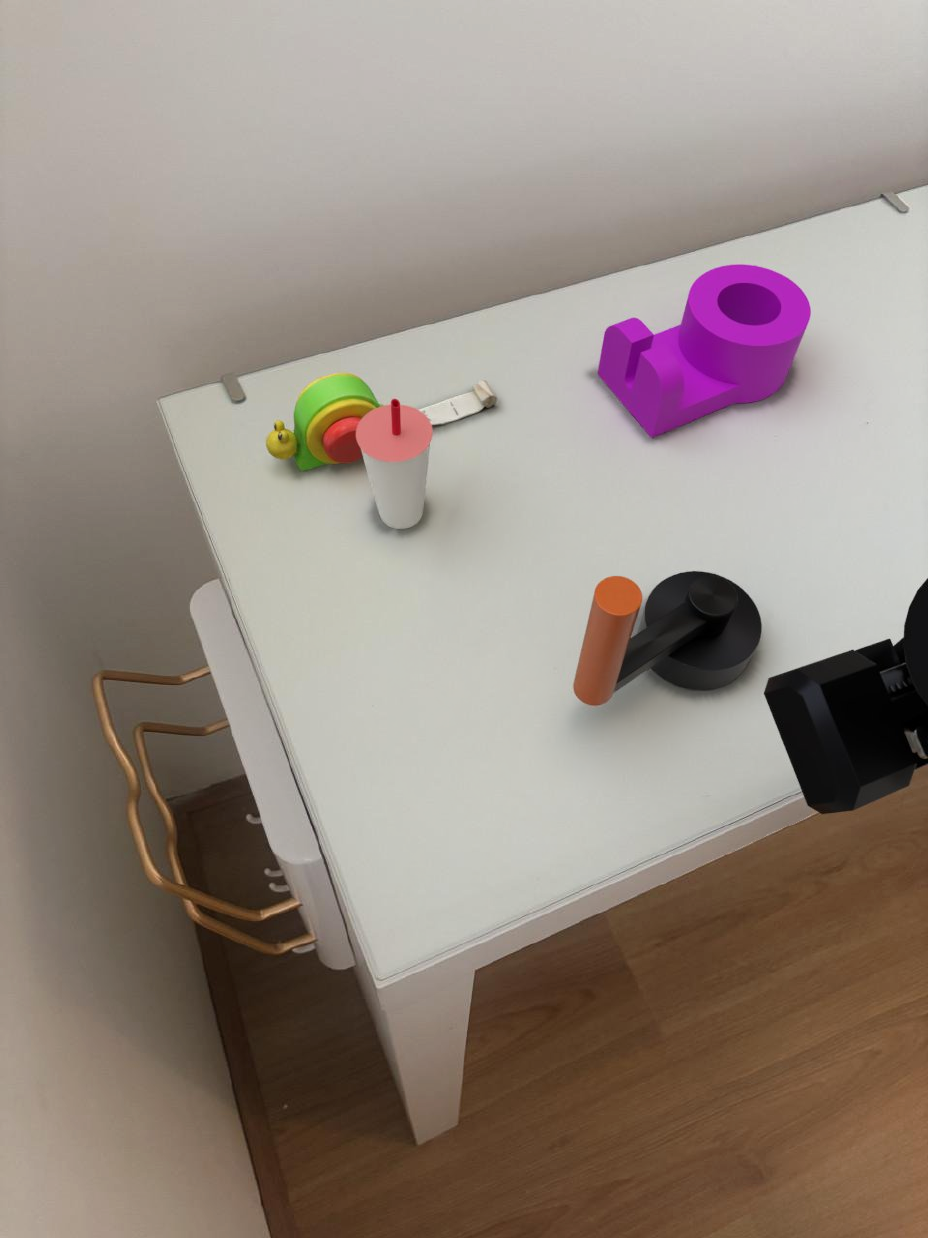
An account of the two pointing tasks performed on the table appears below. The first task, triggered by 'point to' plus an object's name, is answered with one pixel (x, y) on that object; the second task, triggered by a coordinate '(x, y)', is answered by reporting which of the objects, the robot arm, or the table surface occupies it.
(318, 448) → the toy measuring tape
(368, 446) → the cup
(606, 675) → the crank handle
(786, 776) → the table surface
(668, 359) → the tape dispenser
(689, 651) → the base
